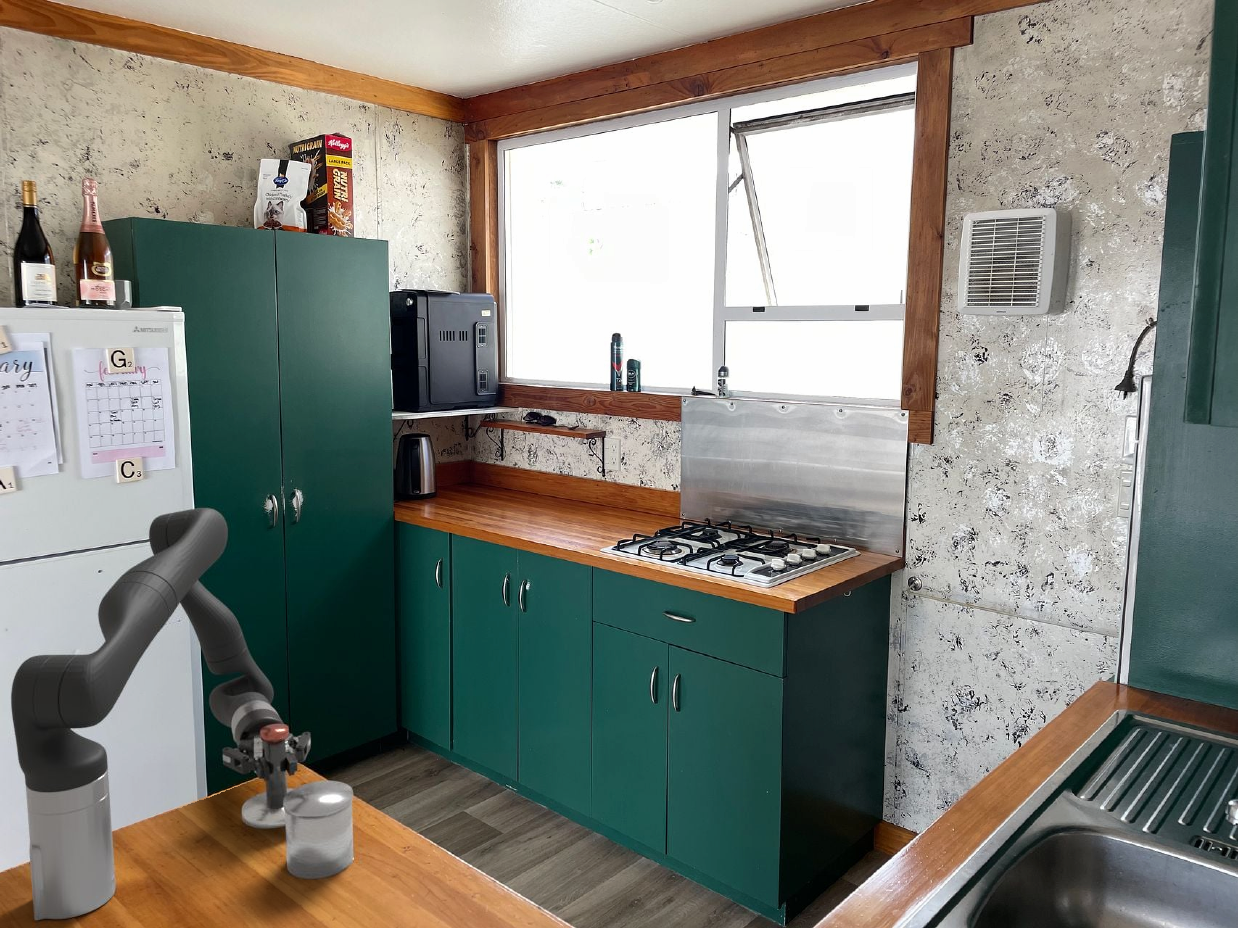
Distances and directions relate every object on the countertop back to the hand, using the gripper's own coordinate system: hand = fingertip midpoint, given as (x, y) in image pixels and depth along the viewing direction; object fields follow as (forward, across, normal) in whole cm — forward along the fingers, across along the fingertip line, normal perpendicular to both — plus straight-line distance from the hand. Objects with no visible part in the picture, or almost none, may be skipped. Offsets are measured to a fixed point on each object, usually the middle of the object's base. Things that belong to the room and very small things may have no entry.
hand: (279, 771), depth 139 cm
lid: (-3, 0, +8) cm, 8 cm away
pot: (+11, +3, +9) cm, 15 cm away
